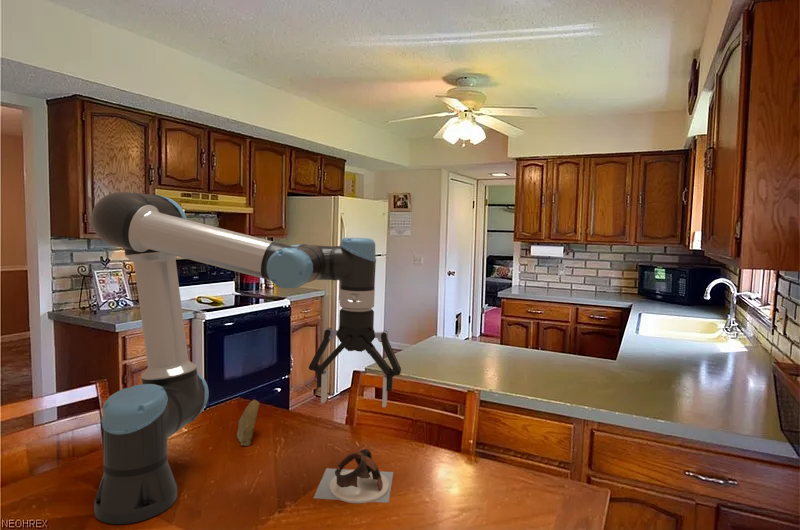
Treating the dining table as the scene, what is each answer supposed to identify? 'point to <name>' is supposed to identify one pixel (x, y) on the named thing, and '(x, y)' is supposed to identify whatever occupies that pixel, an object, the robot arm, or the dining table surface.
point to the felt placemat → (329, 474)
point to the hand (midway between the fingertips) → (354, 403)
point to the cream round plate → (359, 489)
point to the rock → (247, 423)
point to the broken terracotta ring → (358, 469)
